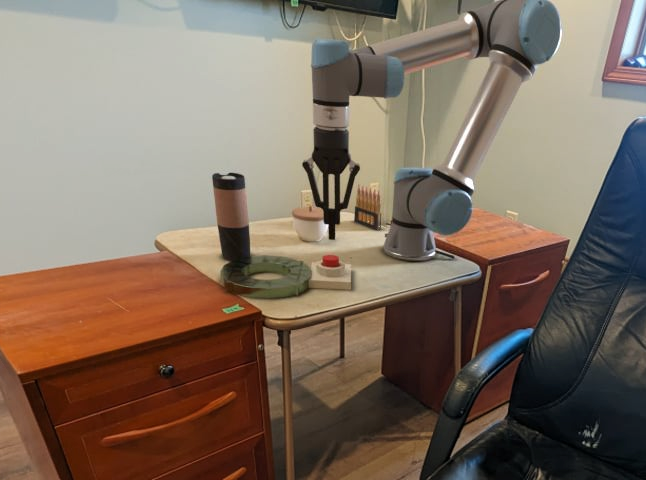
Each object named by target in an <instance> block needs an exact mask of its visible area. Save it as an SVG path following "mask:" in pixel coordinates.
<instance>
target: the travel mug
mask: <svg viewBox="0 0 646 480" xmlns="http://www.w3.org/2000/svg"><path fill="white" fill-rule="evenodd" d="M211 179H212V180H211V181H212V187H213V197H214V207H215V215H216V216H215V217H216V225H217V231H218V237H219V238H218V239H219V244H220V250H221V256H222V258H223V259H224V261H225V260H226V261H228V262H231V261H233V260H236V259H238V258H239V257H242V258H244V257H249V256H251V255H252V254H251V238H250V237H251V236H250V221H249V220H250V219H249V209H248V200H247V199H248V198H247V190H246V189H247V188H246V179H245V175H243V174H241V173H238V172H228V173H227V174H221V173H219V172H215V173H213V174H212V175H211Z"/></svg>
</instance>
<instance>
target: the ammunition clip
mask: <svg viewBox="0 0 646 480" xmlns="http://www.w3.org/2000/svg"><path fill="white" fill-rule="evenodd" d="M356 189H357V190H356V198H355V206H354V218H353V222H354V223H356V224H359V225H361V226H364V227H367V228H368V229H369V228H370V229H372V230H375V231H380V230H382V211H381V210H382V209H381V208H382V204H381V197H382V196H381V191H380V190H378V191H377V190H376V188H374V189H372V187H370V188H368V186H366V187H365V186H364V185H362V186H361V185H360V183H359V184H358V185H357V188H356ZM368 221H369V222H368ZM379 226H380V227H379Z"/></svg>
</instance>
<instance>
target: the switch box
mask: <svg viewBox="0 0 646 480" xmlns="http://www.w3.org/2000/svg"><path fill="white" fill-rule="evenodd" d="M310 265H311V266H310V269H311V270H312V274H311V279H309V288H308V289H325V290H327V289H328V290H344V291H345V290H347V291H350V290H351V288H352V287H351V286H352V283H351V282H352V263H351V264H348V263H345V262H343V261H341V260H339V266H338V267H334V268H331V267H325V266H323V259H319V260H318V261H316V262H314V261H312V262H311V264H310Z"/></svg>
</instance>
